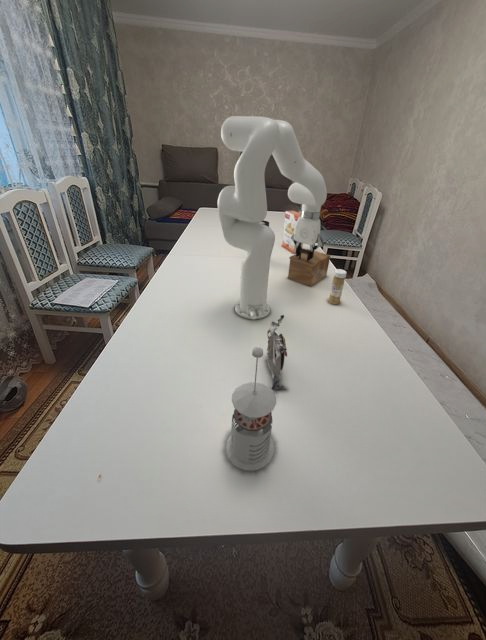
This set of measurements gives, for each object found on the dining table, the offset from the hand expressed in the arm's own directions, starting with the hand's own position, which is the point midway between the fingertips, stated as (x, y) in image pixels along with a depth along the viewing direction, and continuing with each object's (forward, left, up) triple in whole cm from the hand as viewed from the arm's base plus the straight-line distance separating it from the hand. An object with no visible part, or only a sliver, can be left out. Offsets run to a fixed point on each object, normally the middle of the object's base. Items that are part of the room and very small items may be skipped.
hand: (303, 257), depth 127 cm
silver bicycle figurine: (-56, +25, -12) cm, 62 cm away
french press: (-77, +35, -12) cm, 85 cm away
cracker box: (+44, -9, -12) cm, 47 cm away
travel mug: (+26, +14, -12) cm, 32 cm away
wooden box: (+4, -5, -12) cm, 13 cm away
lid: (+4, -5, -2) cm, 6 cm away
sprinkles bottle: (-20, -8, -12) cm, 24 cm away
